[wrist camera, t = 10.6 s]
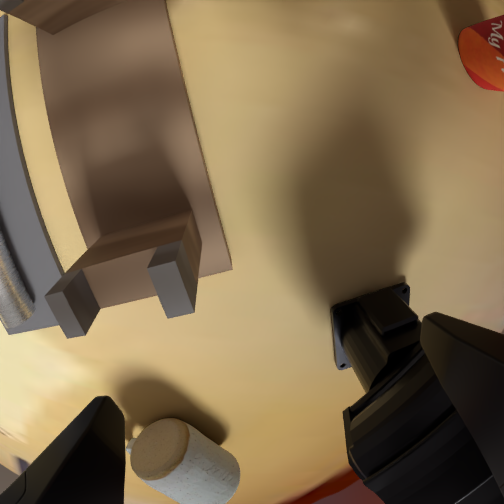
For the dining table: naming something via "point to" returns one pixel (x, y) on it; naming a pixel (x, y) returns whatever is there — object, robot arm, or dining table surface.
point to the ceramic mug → (183, 463)
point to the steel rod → (12, 291)
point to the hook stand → (124, 157)
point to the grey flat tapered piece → (23, 209)
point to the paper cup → (484, 53)
